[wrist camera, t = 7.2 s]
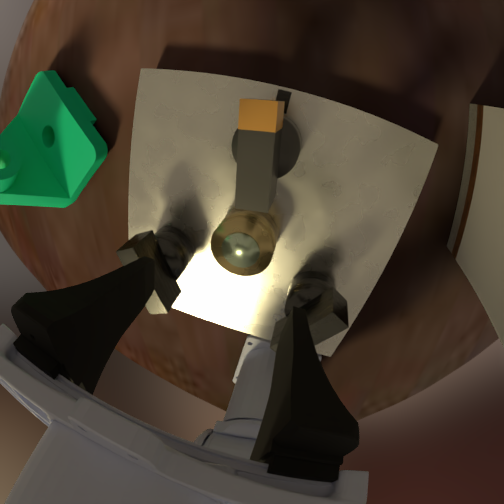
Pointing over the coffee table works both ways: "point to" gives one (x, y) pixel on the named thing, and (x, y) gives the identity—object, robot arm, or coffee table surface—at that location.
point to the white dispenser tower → (483, 212)
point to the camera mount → (49, 146)
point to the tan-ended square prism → (262, 152)
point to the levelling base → (280, 213)
